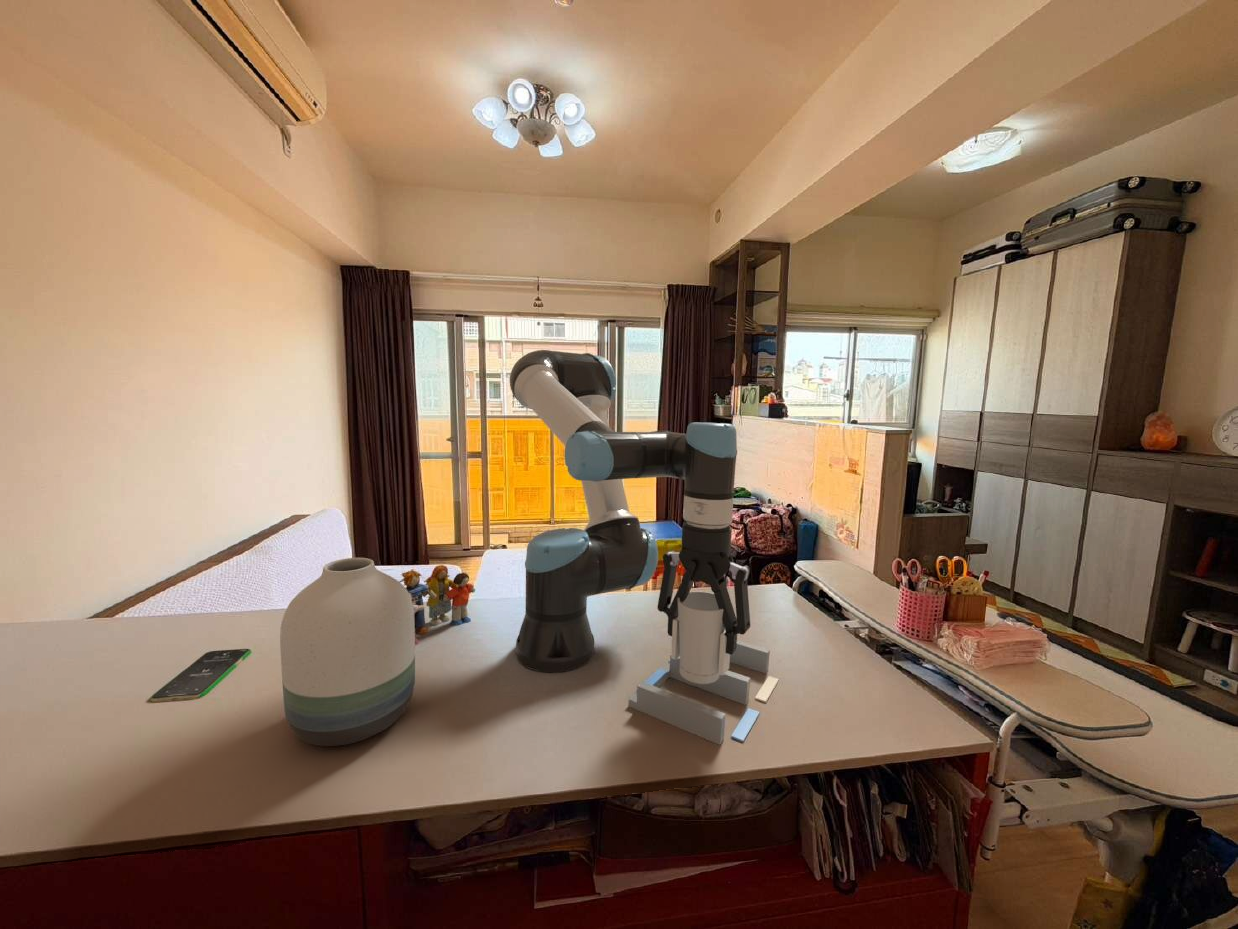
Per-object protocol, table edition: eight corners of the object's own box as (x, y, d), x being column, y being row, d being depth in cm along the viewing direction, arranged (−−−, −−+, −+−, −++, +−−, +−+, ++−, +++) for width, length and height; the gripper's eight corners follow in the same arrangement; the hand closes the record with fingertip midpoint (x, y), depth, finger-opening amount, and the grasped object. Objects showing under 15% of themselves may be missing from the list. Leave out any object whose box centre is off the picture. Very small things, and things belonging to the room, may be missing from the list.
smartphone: (145, 699, 74) (207, 650, 89) (145, 705, 74) (207, 655, 89) (201, 694, 76) (253, 647, 90) (202, 700, 76) (254, 652, 90)
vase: (325, 781, 60) (317, 597, 57) (262, 729, 69) (253, 567, 66) (439, 711, 75) (437, 561, 72) (375, 676, 83) (371, 541, 80)
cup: (725, 690, 72) (729, 613, 71) (672, 682, 74) (675, 608, 73) (724, 663, 80) (728, 594, 79) (676, 657, 82) (679, 589, 80)
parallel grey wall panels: (628, 706, 77) (629, 682, 77) (691, 645, 98) (692, 626, 97) (737, 752, 68) (739, 726, 67) (782, 674, 88) (783, 653, 88)
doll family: (391, 657, 90) (389, 589, 88) (362, 643, 95) (360, 578, 93) (479, 617, 107) (479, 560, 106) (451, 606, 112) (450, 552, 111)
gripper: (638, 517, 77) (633, 653, 79) (766, 539, 66) (755, 696, 68) (660, 509, 83) (655, 636, 86) (780, 528, 72) (770, 672, 75)
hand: (699, 662), depth 77 cm, fingers closed on cup, 7 cm apart
